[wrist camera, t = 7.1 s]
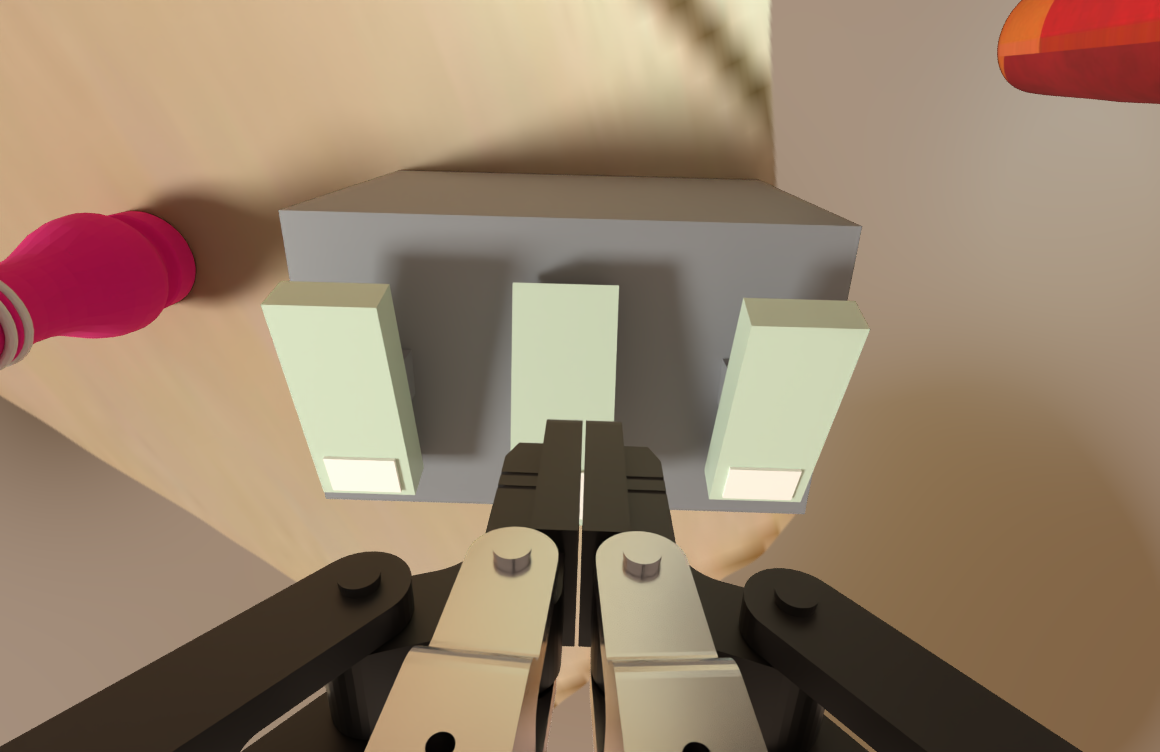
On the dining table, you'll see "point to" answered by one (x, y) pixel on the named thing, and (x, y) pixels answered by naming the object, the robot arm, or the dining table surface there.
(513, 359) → the block
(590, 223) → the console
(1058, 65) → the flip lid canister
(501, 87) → the dining table surface
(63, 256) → the pepper mill
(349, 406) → the block
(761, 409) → the rocker
